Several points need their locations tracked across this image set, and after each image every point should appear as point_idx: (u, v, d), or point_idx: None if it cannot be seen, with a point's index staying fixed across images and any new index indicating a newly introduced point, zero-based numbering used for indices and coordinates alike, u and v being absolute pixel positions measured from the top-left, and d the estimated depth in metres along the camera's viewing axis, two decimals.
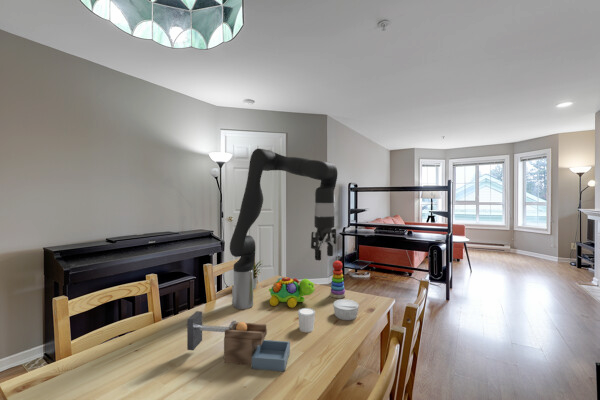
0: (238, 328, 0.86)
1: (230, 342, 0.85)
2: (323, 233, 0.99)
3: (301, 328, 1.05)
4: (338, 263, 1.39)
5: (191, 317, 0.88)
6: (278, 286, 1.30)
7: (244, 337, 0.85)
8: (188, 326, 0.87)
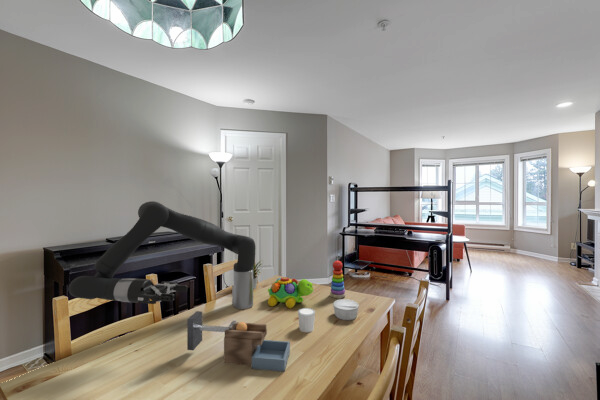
0: (238, 328, 0.86)
1: (230, 342, 0.85)
2: None
3: (301, 328, 1.05)
4: (338, 263, 1.39)
5: (191, 317, 0.88)
6: (276, 286, 1.30)
7: (244, 337, 0.85)
8: (188, 326, 0.87)
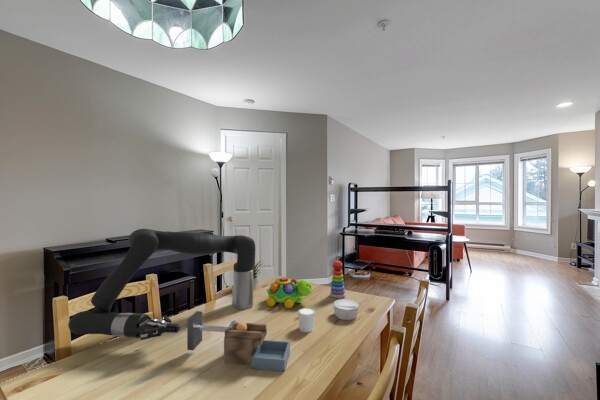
0: (238, 328, 0.86)
1: (230, 342, 0.85)
2: None
3: (301, 328, 1.05)
4: (338, 263, 1.39)
5: (191, 317, 0.88)
6: (275, 286, 1.30)
7: (244, 337, 0.85)
8: (188, 326, 0.87)
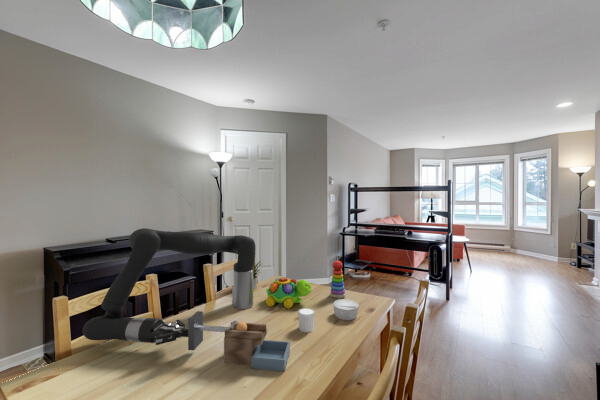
0: (238, 328, 0.86)
1: (230, 342, 0.85)
2: None
3: (301, 328, 1.05)
4: (338, 263, 1.39)
5: (192, 317, 0.88)
6: (275, 286, 1.30)
7: (244, 337, 0.85)
8: (189, 326, 0.87)
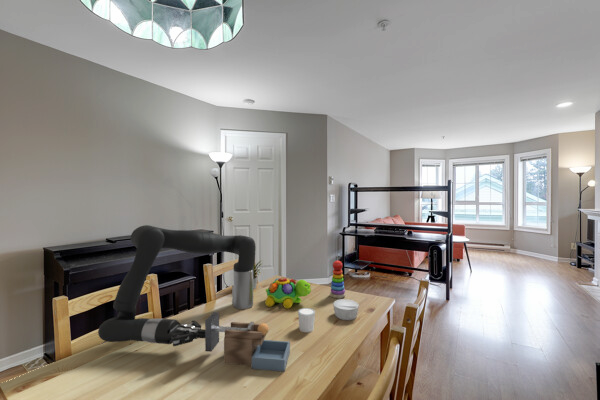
0: None
1: (230, 342, 0.85)
2: None
3: (301, 328, 1.05)
4: (338, 263, 1.39)
5: (209, 318, 0.87)
6: (274, 287, 1.29)
7: (244, 337, 0.85)
8: (206, 327, 0.86)
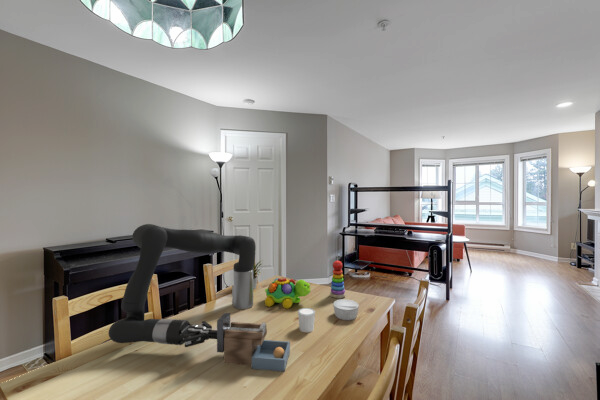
0: (279, 354, 0.85)
1: (230, 342, 0.85)
2: None
3: (301, 328, 1.05)
4: (338, 263, 1.39)
5: (220, 319, 0.87)
6: (273, 286, 1.30)
7: (244, 337, 0.85)
8: (218, 328, 0.86)
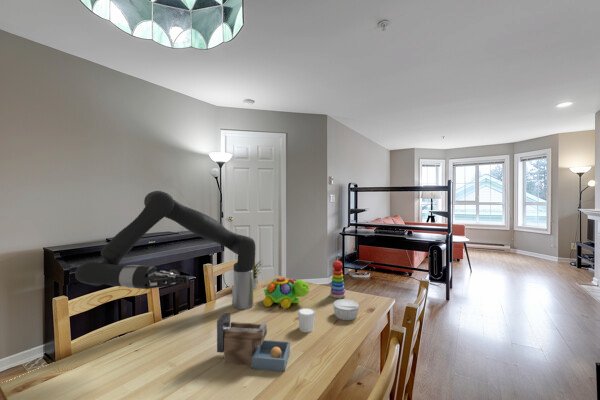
0: (275, 353, 0.85)
1: (230, 342, 0.85)
2: None
3: (301, 328, 1.05)
4: (338, 263, 1.39)
5: (220, 319, 0.87)
6: (272, 287, 1.29)
7: (244, 337, 0.85)
8: (218, 328, 0.86)
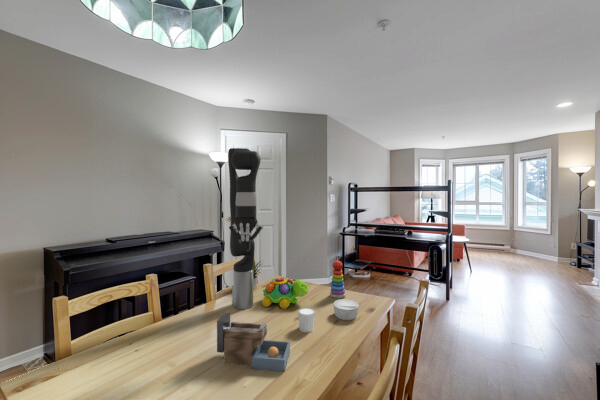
0: (271, 353, 0.85)
1: (230, 342, 0.85)
2: (238, 225, 1.00)
3: (301, 328, 1.05)
4: (338, 263, 1.39)
5: (220, 319, 0.87)
6: (271, 287, 1.29)
7: (244, 337, 0.85)
8: (218, 328, 0.86)
